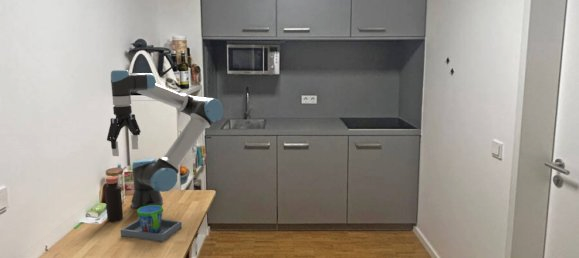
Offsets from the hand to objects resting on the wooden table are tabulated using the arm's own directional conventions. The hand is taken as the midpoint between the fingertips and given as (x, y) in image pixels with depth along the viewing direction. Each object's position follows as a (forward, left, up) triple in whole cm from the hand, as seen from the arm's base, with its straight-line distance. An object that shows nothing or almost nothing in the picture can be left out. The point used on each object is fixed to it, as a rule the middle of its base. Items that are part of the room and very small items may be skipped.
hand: (125, 152), depth 203 cm
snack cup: (+10, +18, -31) cm, 38 cm away
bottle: (+2, -7, -32) cm, 33 cm away
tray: (+10, +18, -32) cm, 38 cm away
